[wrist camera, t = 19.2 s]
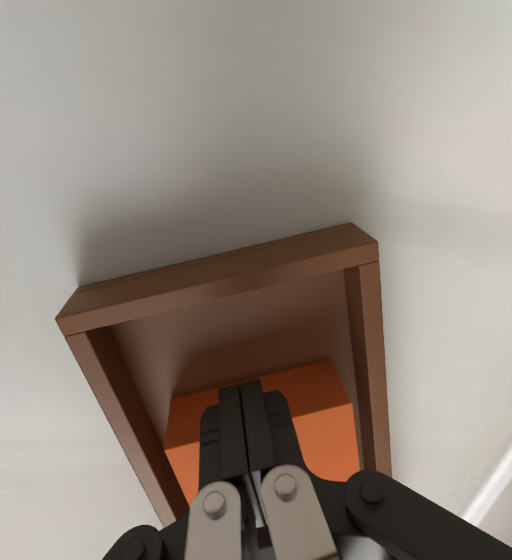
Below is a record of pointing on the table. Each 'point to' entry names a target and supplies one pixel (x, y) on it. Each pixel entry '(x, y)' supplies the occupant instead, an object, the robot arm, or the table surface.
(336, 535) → the robot arm
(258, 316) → the brown wooden tray
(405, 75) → the table surface
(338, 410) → the rust pad
